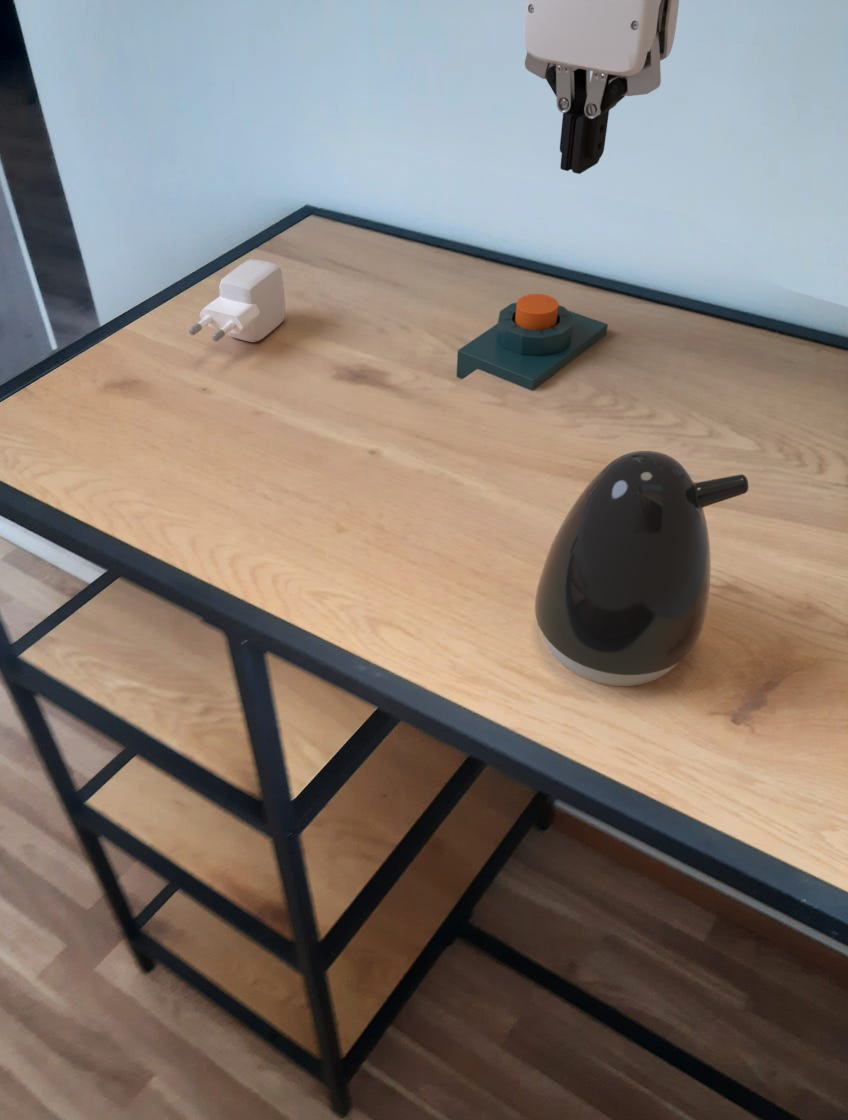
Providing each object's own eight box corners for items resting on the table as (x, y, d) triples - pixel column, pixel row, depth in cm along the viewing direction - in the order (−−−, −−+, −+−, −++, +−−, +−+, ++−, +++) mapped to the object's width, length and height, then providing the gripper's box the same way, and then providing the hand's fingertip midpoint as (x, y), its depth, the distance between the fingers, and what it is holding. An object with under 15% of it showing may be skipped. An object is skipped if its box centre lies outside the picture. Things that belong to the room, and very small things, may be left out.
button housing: (531, 324, 90) (536, 279, 87) (603, 351, 87) (611, 305, 83) (456, 377, 84) (458, 331, 81) (530, 408, 81) (535, 361, 77)
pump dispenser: (701, 719, 57) (772, 527, 46) (529, 707, 58) (558, 516, 47) (682, 602, 64) (740, 410, 53) (528, 593, 65) (553, 403, 54)
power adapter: (229, 375, 86) (220, 315, 81) (186, 363, 87) (175, 304, 83) (293, 320, 92) (288, 262, 88) (252, 310, 94) (245, 253, 90)
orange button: (530, 308, 84) (531, 289, 83) (564, 320, 83) (566, 301, 81) (506, 324, 82) (508, 305, 81) (541, 336, 81) (543, 317, 80)
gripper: (751, -138, 58) (690, 171, 72) (547, -151, 65) (526, 133, 79) (694, -118, 54) (640, 205, 68) (484, -134, 61) (473, 161, 75)
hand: (579, 165), depth 73 cm, fingers closed
